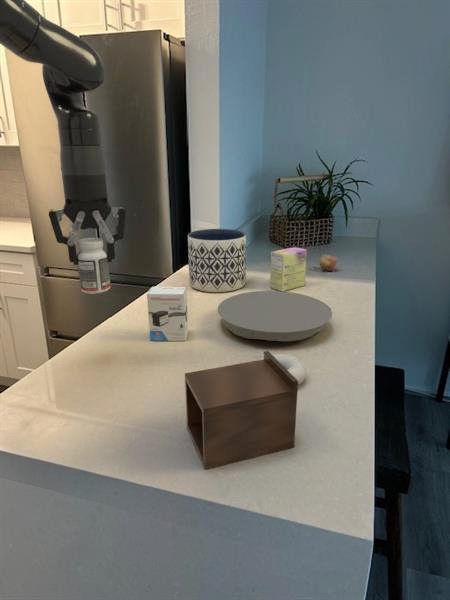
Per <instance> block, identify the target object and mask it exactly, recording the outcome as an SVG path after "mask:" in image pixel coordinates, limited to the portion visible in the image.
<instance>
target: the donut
mask: <svg viewBox="0 0 450 600" xmlns="http://www.w3.org/2000/svg"><path fill="white" fill-rule="evenodd" d="M271 354H272V353H271ZM272 355H273V356H274V357H275V358H276V359H277V360H278V361H279V362H280V363H281V364H282V365H283V366H284V367H285V368H286V369H287V370H288V371H289V372H290V373H291V374H292V375H293V376H294V377H295V378H296V379H297V380H298V385H300V384H301V383H302V382H303V381H304V380H305V378H306V376H307V368H306V366H305V364H304V363H303V361H301V360H300V359H298V358H297V357H295V356H292V355H289V354H284V353H274V354H272ZM263 359H264V356H263V357H261V358H259V359H258V360H263Z"/></svg>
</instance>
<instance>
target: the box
mask: <svg viewBox="0 0 450 600" xmlns="http://www.w3.org/2000/svg"><path fill="white" fill-rule="evenodd" d="M307 252H308V250H307V249H304V248H300V247H295V246H293V247H288V248H282V249H277V250H273V251H272V250H271V251H270V277H269V288H271V289H273V290H275V291H283V292H287V291H289V290H293V289H296V288H301V287H305V286H306V274H307V273H306V271H307Z"/></svg>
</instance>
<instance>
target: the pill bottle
mask: <svg viewBox="0 0 450 600" xmlns="http://www.w3.org/2000/svg"><path fill="white" fill-rule="evenodd" d="M104 245H105V243H104V239H103V238H100V237H86V238H85V237H84V238H80V239H78V240H77V248H78V249H79V251H78V252H77V262H78V265H77V270H78V278H79V279H78V280H79V287H80V290H81V292H83V293H85V294H90V295H91V294H92V295H95V294H102V293H105V292H107V291H109V290H110V289H111V278H110V277H111V276H110V266H109V263H108V256H107V251H106V250H105V249H103V248H104Z"/></svg>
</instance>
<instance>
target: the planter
mask: <svg viewBox="0 0 450 600" xmlns="http://www.w3.org/2000/svg"><path fill="white" fill-rule="evenodd" d="M187 253H188V254H187V255H188V278H189V279H188V280H189V282H188V283H189V285H190V287H192V288H193V289H195V290H196V291H201V292H205V293H228V292H229V293H230V292H233V291H234V292H235V291H237V290H239V289H241V288H243V287H244V286H245V285H246V282H247V281H246V280H247V279H246V278H247V277H246V276H247V275H246V272H247V271H246V270H247V267H246V266H247V233H246V232H244V231H242V230H239V229H238V230H237V229H230V228H206V229H199V230H198V229H197V230H194V231H191V232H188V234H187Z"/></svg>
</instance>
